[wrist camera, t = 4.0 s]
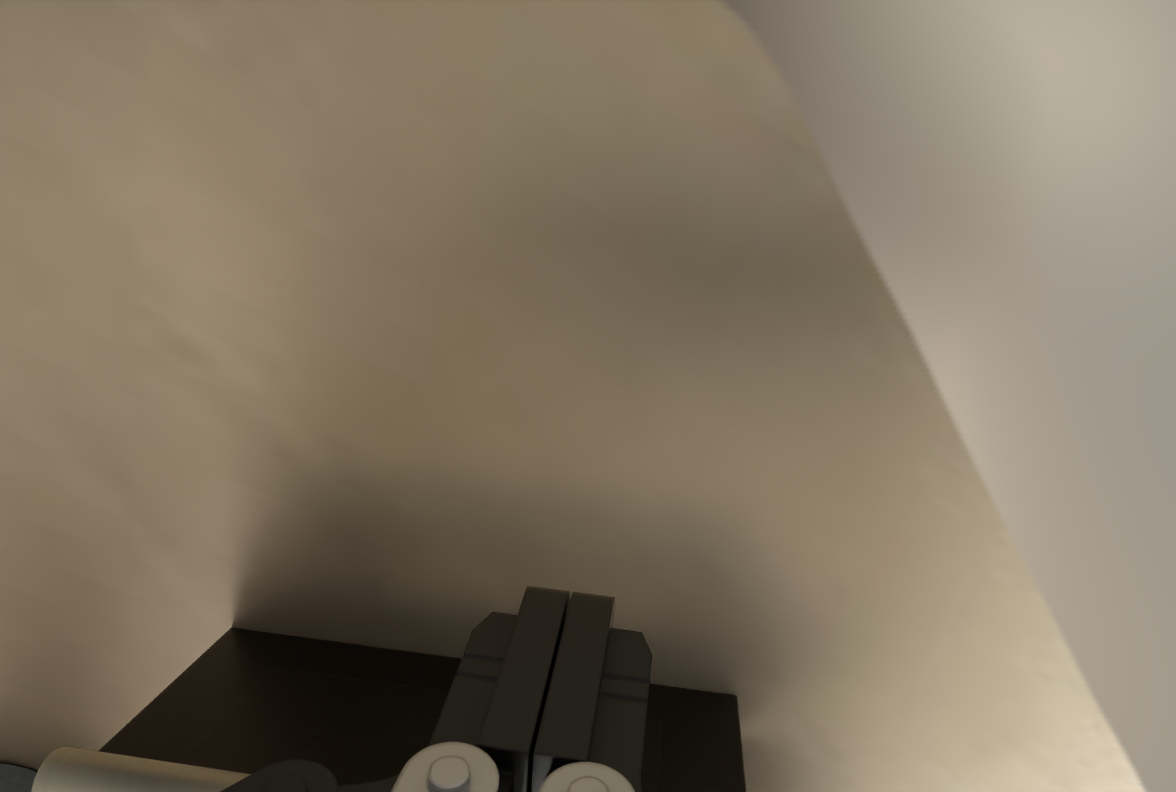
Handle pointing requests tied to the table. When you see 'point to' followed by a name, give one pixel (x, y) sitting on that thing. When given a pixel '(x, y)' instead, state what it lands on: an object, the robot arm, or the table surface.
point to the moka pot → (16, 778)
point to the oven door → (347, 722)
